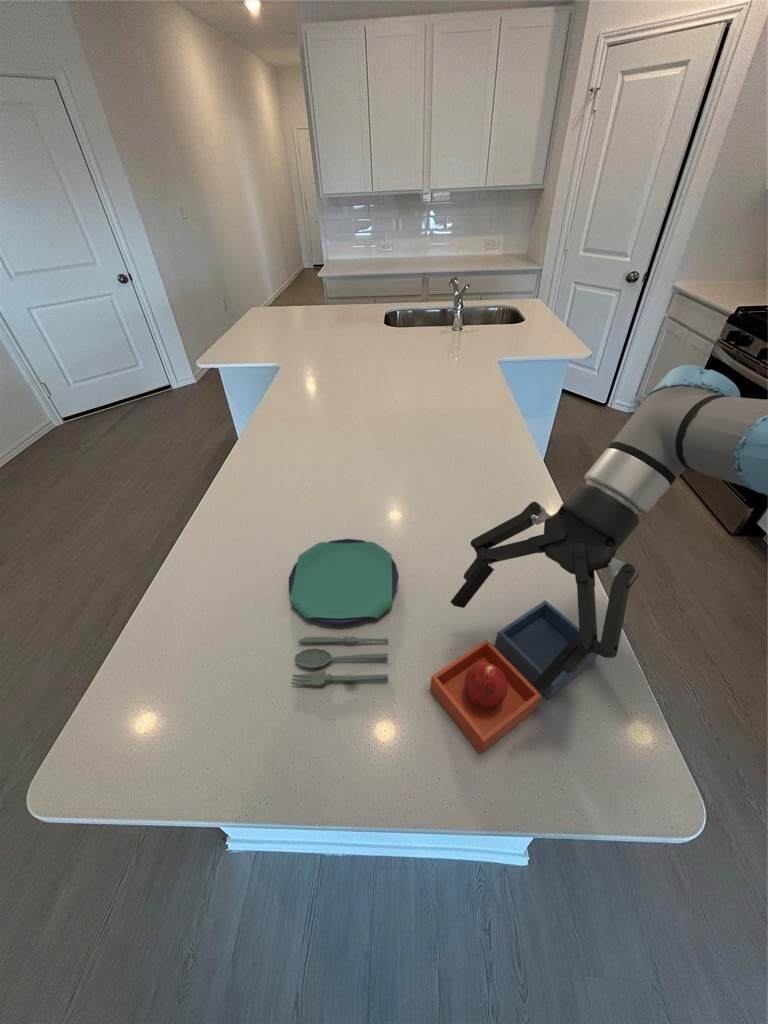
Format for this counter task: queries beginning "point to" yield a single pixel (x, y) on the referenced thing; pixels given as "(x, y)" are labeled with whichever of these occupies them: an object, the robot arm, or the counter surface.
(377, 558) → the cutlery set
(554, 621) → the blue bin
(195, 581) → the counter surface
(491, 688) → the red rounded oval piece
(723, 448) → the robot arm
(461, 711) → the terracotta bin
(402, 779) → the counter surface
